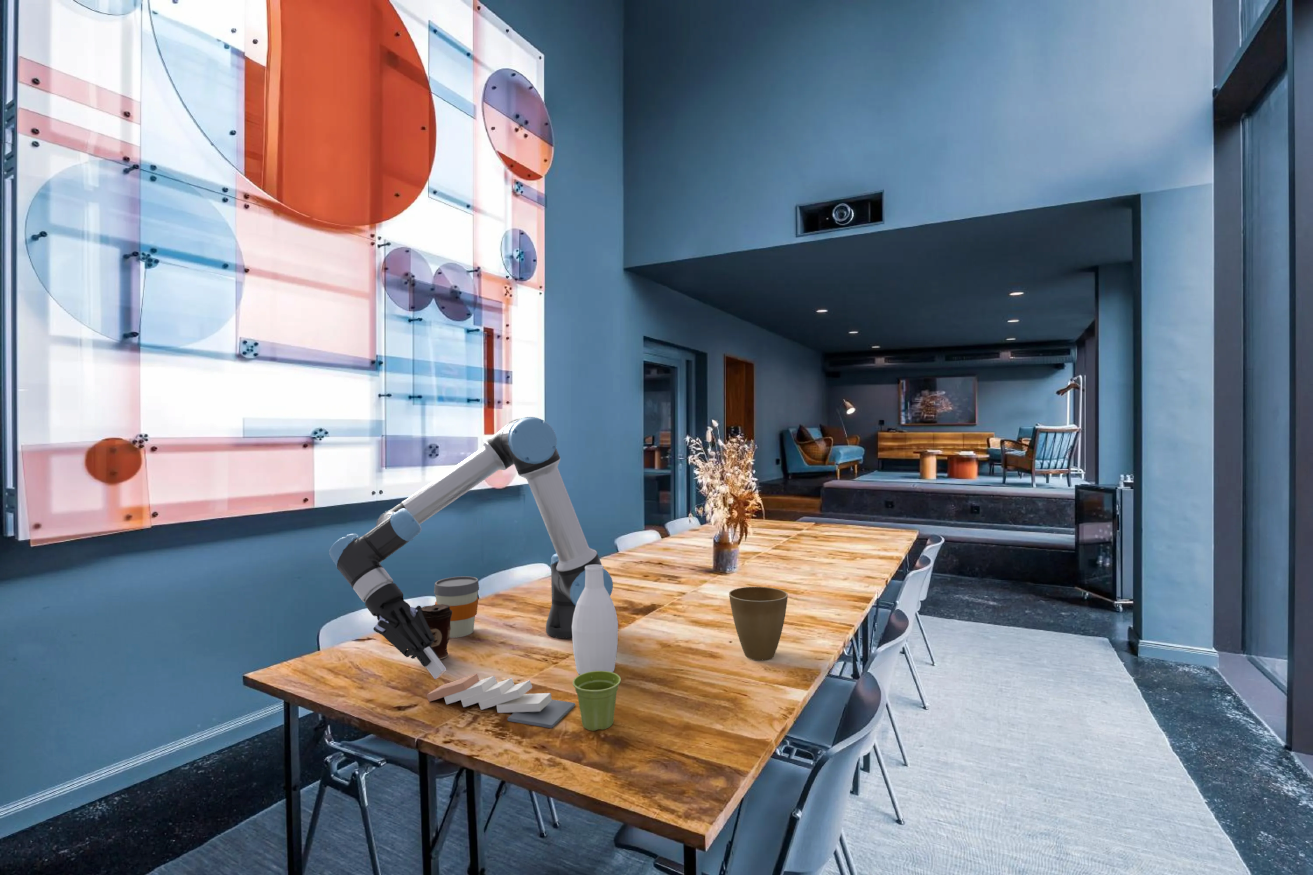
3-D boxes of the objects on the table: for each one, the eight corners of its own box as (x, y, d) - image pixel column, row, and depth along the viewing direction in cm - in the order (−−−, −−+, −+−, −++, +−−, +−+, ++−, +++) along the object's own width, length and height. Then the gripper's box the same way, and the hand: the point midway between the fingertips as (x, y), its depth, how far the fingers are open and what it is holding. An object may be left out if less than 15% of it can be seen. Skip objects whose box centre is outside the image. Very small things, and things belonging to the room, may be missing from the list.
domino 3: (460, 699, 124) (498, 687, 121) (475, 690, 129) (511, 677, 126) (463, 707, 124) (501, 694, 121) (477, 697, 129) (514, 684, 126)
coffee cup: (440, 664, 148) (439, 612, 148) (410, 662, 149) (409, 611, 149) (458, 651, 156) (457, 603, 156) (430, 649, 158) (429, 601, 158)
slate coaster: (507, 720, 118) (507, 717, 118) (533, 699, 127) (533, 696, 127) (551, 728, 114) (551, 724, 114) (575, 705, 124) (575, 702, 124)
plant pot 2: (799, 653, 151) (798, 591, 151) (768, 671, 140) (767, 604, 140) (750, 640, 161) (750, 582, 161) (718, 656, 151) (717, 593, 151)
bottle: (599, 659, 150) (597, 559, 150) (628, 671, 142) (626, 565, 142) (563, 671, 142) (561, 566, 142) (591, 685, 134) (590, 573, 134)
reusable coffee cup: (471, 639, 166) (470, 586, 166) (427, 639, 166) (426, 586, 166) (485, 625, 178) (484, 575, 178) (444, 625, 178) (443, 576, 178)
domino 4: (478, 702, 123) (517, 689, 120) (492, 692, 127) (529, 679, 125) (481, 709, 122) (520, 697, 120) (494, 699, 127) (532, 687, 124)
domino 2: (443, 697, 125) (481, 684, 123) (458, 687, 130) (494, 675, 127) (446, 704, 125) (483, 692, 122) (461, 694, 130) (497, 682, 127)
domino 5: (496, 704, 121) (538, 703, 118) (509, 694, 126) (550, 692, 123) (497, 712, 121) (540, 711, 118) (510, 702, 126) (551, 700, 123)
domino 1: (426, 694, 127) (462, 682, 124) (441, 685, 132) (477, 673, 129) (428, 701, 127) (465, 689, 124) (444, 692, 132) (479, 680, 129)
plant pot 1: (602, 740, 109) (601, 694, 109) (563, 727, 114) (562, 683, 114) (630, 719, 117) (630, 676, 117) (593, 708, 122) (592, 667, 122)
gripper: (391, 596, 141) (450, 673, 136) (347, 611, 129) (409, 697, 124) (409, 575, 140) (469, 652, 134) (365, 589, 127) (430, 675, 122)
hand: (440, 674), depth 129 cm, fingers closed
